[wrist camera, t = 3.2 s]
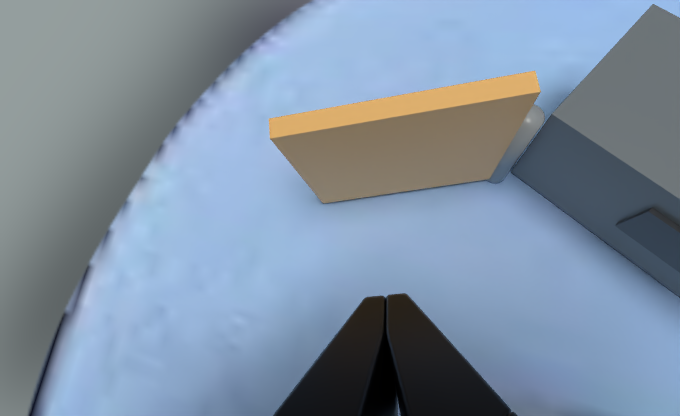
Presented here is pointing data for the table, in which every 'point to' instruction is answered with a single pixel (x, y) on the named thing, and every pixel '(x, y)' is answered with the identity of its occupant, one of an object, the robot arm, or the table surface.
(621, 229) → the block
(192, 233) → the table surface
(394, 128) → the door
